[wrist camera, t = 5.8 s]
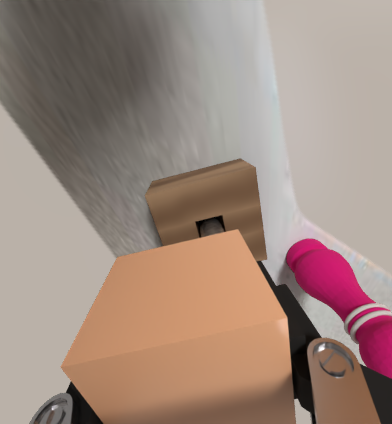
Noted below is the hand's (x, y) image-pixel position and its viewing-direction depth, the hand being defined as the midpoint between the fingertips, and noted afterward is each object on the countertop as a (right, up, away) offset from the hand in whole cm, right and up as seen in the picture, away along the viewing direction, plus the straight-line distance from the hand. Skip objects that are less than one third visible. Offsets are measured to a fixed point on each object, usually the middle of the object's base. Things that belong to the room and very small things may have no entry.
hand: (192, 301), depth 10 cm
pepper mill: (+18, -3, +24) cm, 30 cm away
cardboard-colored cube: (0, 0, +1) cm, 1 cm away
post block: (+2, +5, +19) cm, 20 cm away
